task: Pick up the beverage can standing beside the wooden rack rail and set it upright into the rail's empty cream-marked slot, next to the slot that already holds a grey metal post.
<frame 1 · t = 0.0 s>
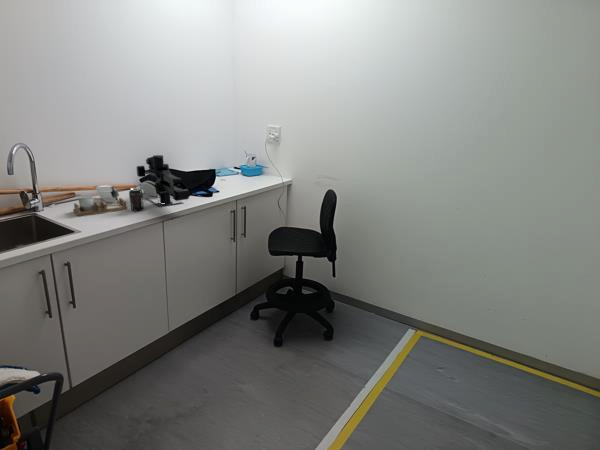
hand: (148, 167, 251), 17 cm above the worktop, tool horizontal, fingers open, 9 cm apart
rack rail: (102, 210, 219), on the worktop
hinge: (152, 195, 254), on the worktop
shelf bracket: (110, 202, 235), on the worktop, touching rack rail
beverage can: (137, 210, 222), on the worktop
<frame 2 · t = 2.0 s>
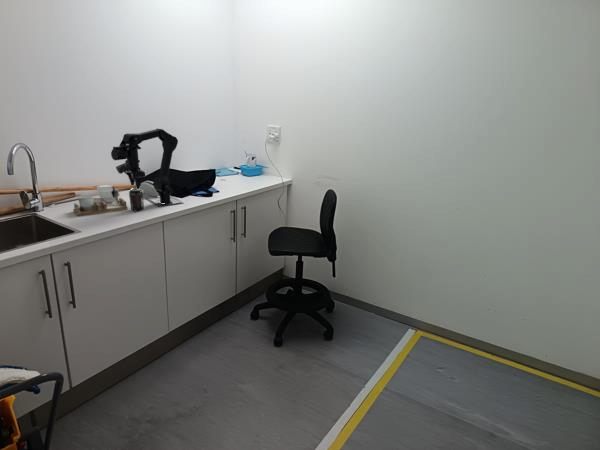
hand: (135, 187, 218), 13 cm above the worktop, tool pointing down, fingers open, 9 cm apart
nothing on the worktop moved.
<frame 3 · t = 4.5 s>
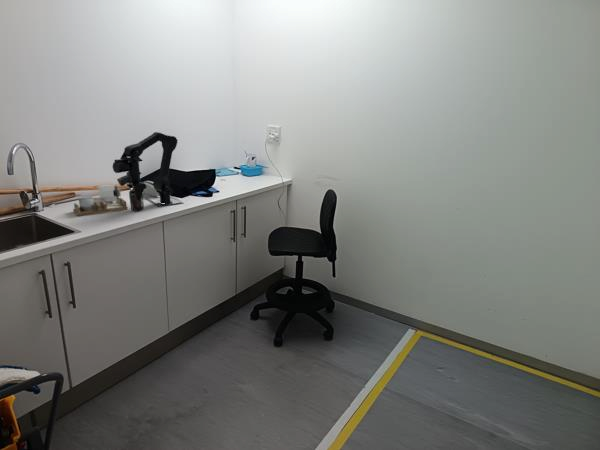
hand: (136, 198, 220), 7 cm above the worktop, tool pointing down, fingers closed on beverage can, 7 cm apart
beverage can: (137, 210, 222), on the worktop, touching gripper
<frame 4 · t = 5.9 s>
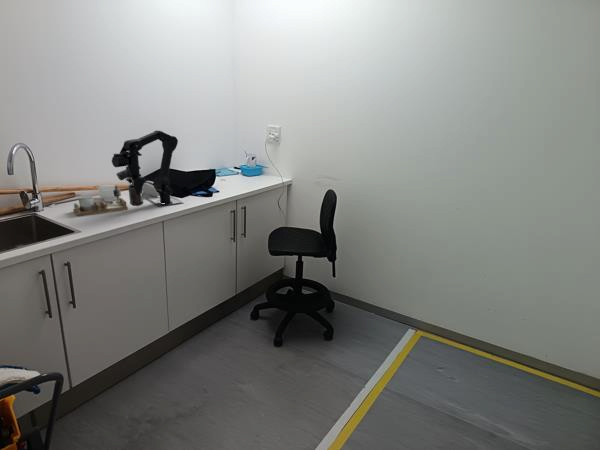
hand: (135, 193, 219), 10 cm above the worktop, tool pointing down, fingers closed on beverage can, 7 cm apart
beverage can: (137, 205, 221), point 3 cm above the worktop, touching gripper
everything else where it was.
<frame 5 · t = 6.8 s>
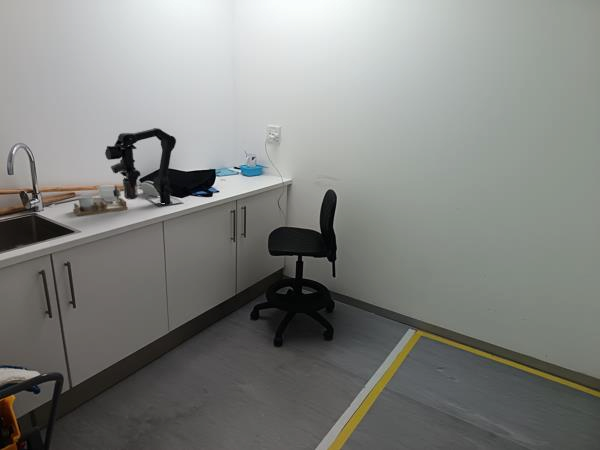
hand: (130, 186, 218), 13 cm above the worktop, tool pointing down, fingers closed on beverage can, 7 cm apart
beverage can: (131, 198, 220), point 6 cm above the worktop, touching gripper
everything else where it was.
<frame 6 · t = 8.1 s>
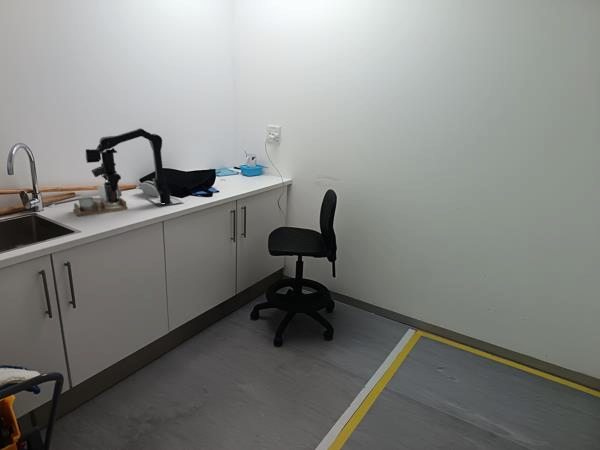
hand: (111, 190, 219), 11 cm above the worktop, tool pointing down, fingers closed on beverage can, 7 cm apart
beverage can: (113, 202, 222), point 4 cm above the worktop, touching gripper
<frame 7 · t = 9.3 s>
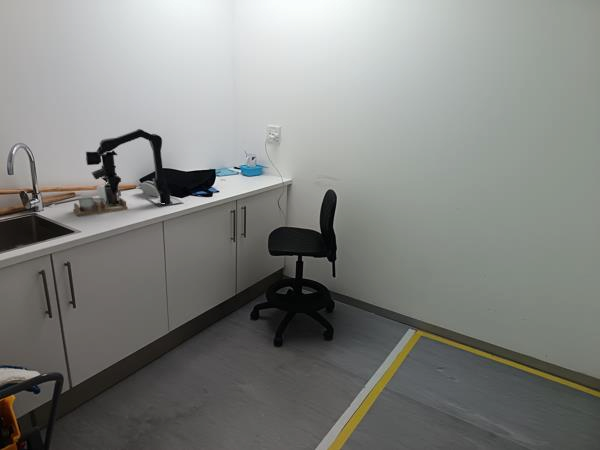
hand: (112, 192, 220), 9 cm above the worktop, tool pointing down, fingers closed on beverage can, 6 cm apart
beverage can: (113, 204, 222), point 2 cm above the worktop, touching gripper
when the fingers open (9 cm above the worktop, at t = 9.7 s): beverage can stays where it is, resting on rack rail.
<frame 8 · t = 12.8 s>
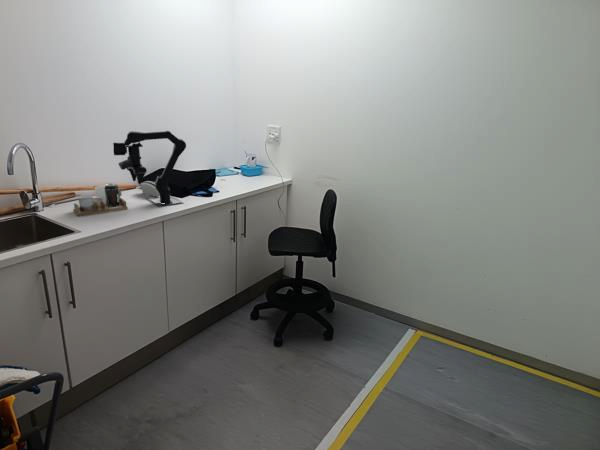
hand: (136, 182, 228), 13 cm above the worktop, tool pointing down, fingers open, 9 cm apart
beverage can: (113, 206, 222), point 2 cm above the worktop, touching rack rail
at the end: beverage can 0.0 cm from the target spot on the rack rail, point 1.5 cm above the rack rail's base; beverage can tilted 0°; the gripper is holding nothing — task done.
